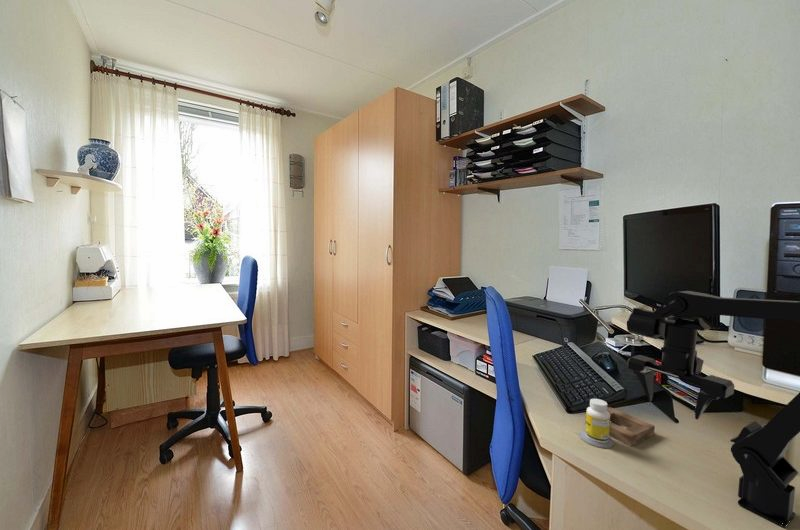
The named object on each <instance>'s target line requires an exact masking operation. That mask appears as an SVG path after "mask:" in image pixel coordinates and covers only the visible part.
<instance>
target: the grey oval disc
mask: <svg viewBox="0 0 800 530" xmlns="http://www.w3.org/2000/svg"><path fill="white" fill-rule="evenodd" d="M585 431H586V428H585V429H581V430H579V432H578V436H579V438H580V440H581V441H583V442H584V443H586V444H588V445H590V446H593V447H596V448H600V449H601V448H602V449H610V448H612V447H613V446H614V444H615V443H614V440H613V439H612V437H611V436H609V441H608V442H606V443H599V442H595V441H592V440H590V439H589V438H588V437H587V436H586V433H585Z"/></svg>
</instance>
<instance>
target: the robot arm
mask: <svg viewBox="0 0 800 530" xmlns="http://www.w3.org/2000/svg"><path fill="white" fill-rule="evenodd" d="M704 316H707V317H708V316H727V317H737V318H748V319H749V318H751V319H763V320H771V321H772V320H774V321H785V322H797V323H799V324H800V301H799V300H798V301H797V300H783V299H781V300H779V299H778V300H777V299H764V298H763V299H761V298H759V299H758V298H741V297H740V298H739V297H722V296H718V295H713V294H709V293H703V292H698V291H693V290H684V291H681V290H680V291H672V292H669V294H668V295H666V296H665V298H664V300H663V304H661V305H660V306H659V307H657V309H656V310H649V309H645V308H642V307H633V308H632V313H630V315H629V317H628V318H627V321H626V329H627V332H628V333H630V334H632V335H636V336H640V337H646V338H650V339H653V340H657V339H659V338H660V337H663V345H662V346H661V347H660V353H662V356H661V363H660V364H658V363H656V360H655V358H652V357H649V356H645V355H641V354H638V355H634V356H630V357H629V358H628V359H627V361H626V368H627V369H628V370H632V371H631V373H632V374H634V375H636V377H637V379H638V381H639V383H640V385H641V386H642V390H643V392H644V394H645V396H646V399H647V401H648V402H652V401H653V397H654V378H655V375H656V373H657V374H662V375H665V376H668V377H671V378H674V379H678V380H681V381H684V382H688V383H690V384H691V383H692V384H694V385H697V386H700V389H701V390H700V391H698V392H697V399H696V404H695V411H694V418H695V419H696V420H699V419H700V418H701V416H702V415H703V413H704V412H705V410H706V409H707V407H708V406H709V405H710V403H711V402H712V401H713V400H715V401H716V400H719V399H726V398H728V397H730V396H732V395H734V394H735V383H733V381H732V380H729V379H726V378H723V377H719V376H716V375H713V374H709V375H708V376H705V377H703V376H700V375H696V374H697V373H699V374H701V373H702V371H703V365H704V359H702V358H700V357H699V356H698V351H697V350H696V348H697V347H696V346H697V338H698V337H697V336H698V331H709V330H710V329H711V326H709V325H708V323H706V322H705V321H704V320H703V318H701V317H704ZM674 317H676V318H677V319H676V320H671V319H667V318H674ZM690 317H691V318H692V317H694V318H695V317H698V318H696V319H689V318H690ZM687 318H688V319H687ZM799 434H800V392H798V393H797V394H796V395H795V396H794V397H793V398H792V399H791V400H790V401H789V402H788V403H786V405H785V406H784V407H782V409H780V410H779V411H778V413H776V415H774V416H773V417H772V418H771V419H770V420H769V421H768V422H767V423H766V424H763V425H760V424H759V423H758V422H757V421H756V420H753V421H752V422H750V423H748V424H746V425H745V426H744V427H743V428H742V429H741V430H740V433H738V434H737V435H735V436H734V437H732V438H731V439H730V442H732V443H733V444H732V445H731V446H730V452H731V455H732V457H733V458H734V460H735V461H736V463H738V464H739V467H740V469H741V473H742V475H741V476H740V477H739V482H738V491H737V492H738V493H737V496H738V497H739V500H738V501H737V505H739V506H741V507H743V508H744V509H746V510H748V511H750V512H753V513H754V514H756V513H757V514H756V515H758V516H760V515H761V516H760V517H762V516H763V517H762V518H764V517H765V518H764V519H766V518H768V519H769V520H768V519H767V520H768V521H770V520H772V521H774V522H776V523H778V524H780V525H782V526H786V525H787V524H788V523H789V521H790V520H791V519H792V518H793V517H794V516H795V517H796V512H794V504H795V503H794V502H795V492H796V491H795V490H796V487H795V486H793V485H791V484H790V483H791V482H793V480H794V479H795V478H796V477H797V476H798V475H799V472H798V470H797V469H796V468H795V467H794V466H793V465H792V464H791V462H789V461H788V460H787V458H785V454H786V453H787V452H788V449H789V448H790V446H791V443H792V442H793V440H794V438H795V437H796V436H797V435H799ZM795 517H794V518H795ZM794 518H793V519H794ZM793 519H792V520H793ZM772 521H771V522H772ZM774 522H773V523H774ZM776 523H775V524H776ZM782 523H783V524H782ZM778 524H777V525H778ZM789 524H790V523H789ZM789 524H788V525H789ZM780 525H779V526H780ZM788 525H787V526H788ZM782 526H781V527H782Z"/></svg>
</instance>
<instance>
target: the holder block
mask: <svg viewBox="0 0 800 530" xmlns="http://www.w3.org/2000/svg"><path fill="white" fill-rule="evenodd" d="M607 411H608V412H609V413H610V421H612V422H610V427H609V437H610V438H613V439H615V440H617V441H619V442H621V443H623V444H625V445H628V446H629V447H632V446H634V445H636V444H638V443H640V442H642V441H644V440H646V439H648V438H651V437H653V436H654V435H655V428H656V427H655V425H654V424H651V423H649V422H647V421H644V420H642V419H639V418H637V417H634V416H632V415H630V414H628V413H626V412H623V411H620V410H618V409H616V408H613V407H611V406H607ZM613 420H614V421H616V422H615V423H613V422H614V421H613ZM617 422H618V423H617ZM616 423H617V424H616ZM619 423H620V424H619ZM618 424H619V425H618ZM621 424H622V425H621ZM584 425H586V421H585V423H584ZM620 425H621V426H620ZM623 425H624V426H623ZM622 426H623V427H622ZM624 427H626V428H624Z"/></svg>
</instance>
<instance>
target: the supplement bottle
mask: <svg viewBox="0 0 800 530" xmlns="http://www.w3.org/2000/svg"><path fill="white" fill-rule="evenodd" d="M608 406H609V405H608V403H607V401H605V400H603V399H600V398H591V399H589V406H588V407H586V413H585V414H586V415H585V422H586V424H585V429H586V431H585V433H586V436H587V437H588V438H589V439H590V440H592V441H595V442H599V443H606V442H608V441H609V437H610V436H609V427H610V413H609V412H608V411H607V408H608Z"/></svg>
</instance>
